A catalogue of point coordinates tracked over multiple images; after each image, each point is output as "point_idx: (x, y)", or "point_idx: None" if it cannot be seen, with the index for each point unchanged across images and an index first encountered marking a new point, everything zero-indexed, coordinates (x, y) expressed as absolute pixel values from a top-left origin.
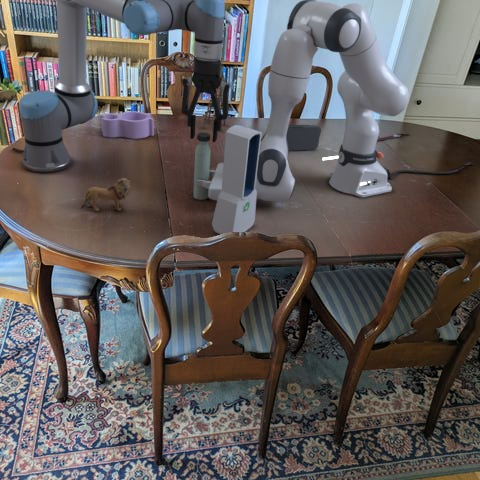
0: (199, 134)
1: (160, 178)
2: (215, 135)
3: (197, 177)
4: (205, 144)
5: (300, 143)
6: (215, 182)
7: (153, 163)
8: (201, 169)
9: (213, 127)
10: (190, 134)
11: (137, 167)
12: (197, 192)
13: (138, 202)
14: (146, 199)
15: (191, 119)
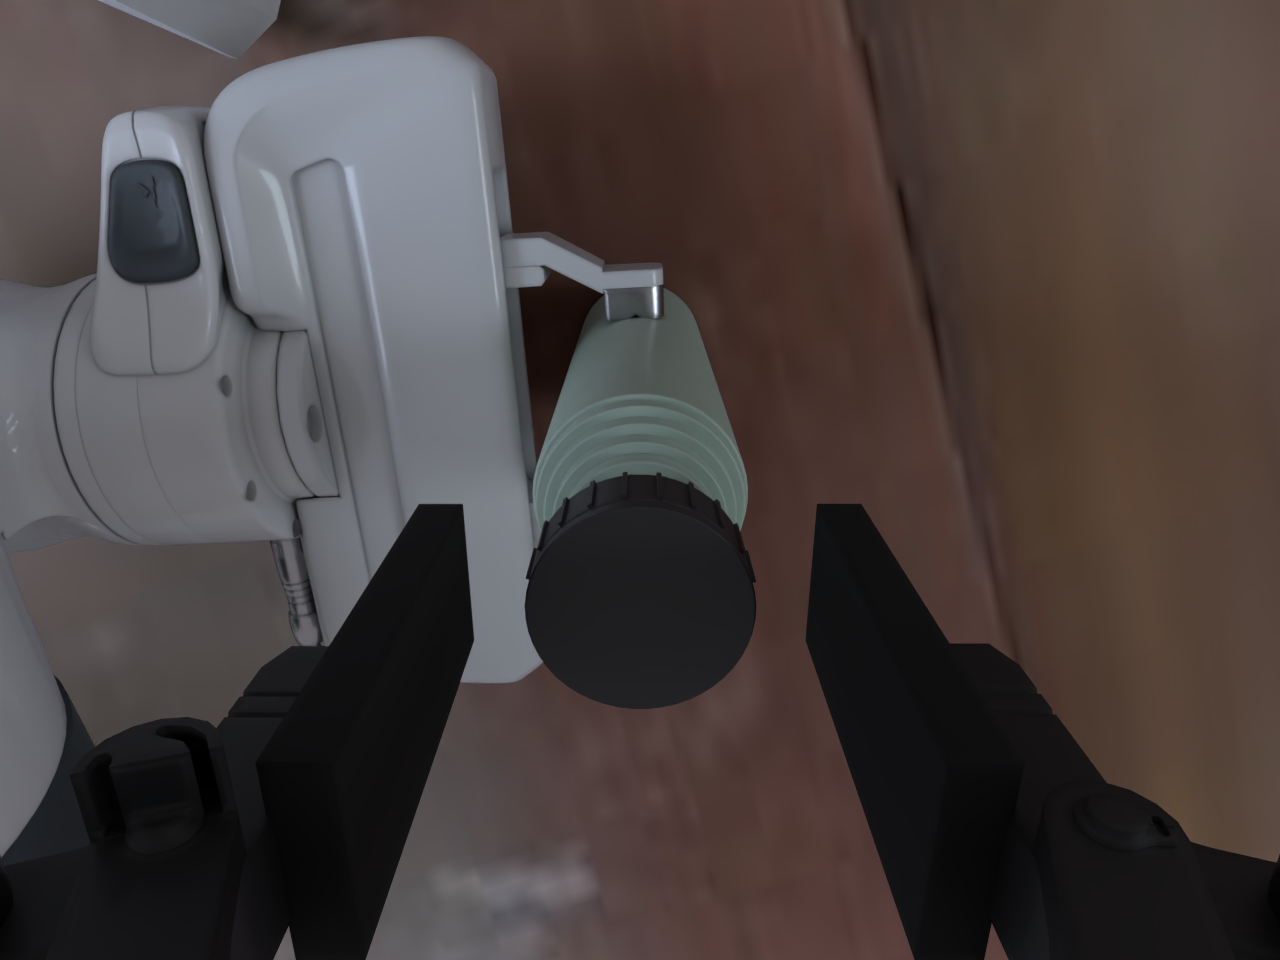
0: (718, 596)
1: (1011, 530)
2: (385, 569)
3: (667, 323)
4: None
5: None
6: (441, 216)
7: (1102, 737)
8: (627, 339)
9: (386, 646)
10: (879, 534)
11: (1215, 643)
12: None
13: (1130, 52)
14: (1069, 134)
15: (983, 725)
